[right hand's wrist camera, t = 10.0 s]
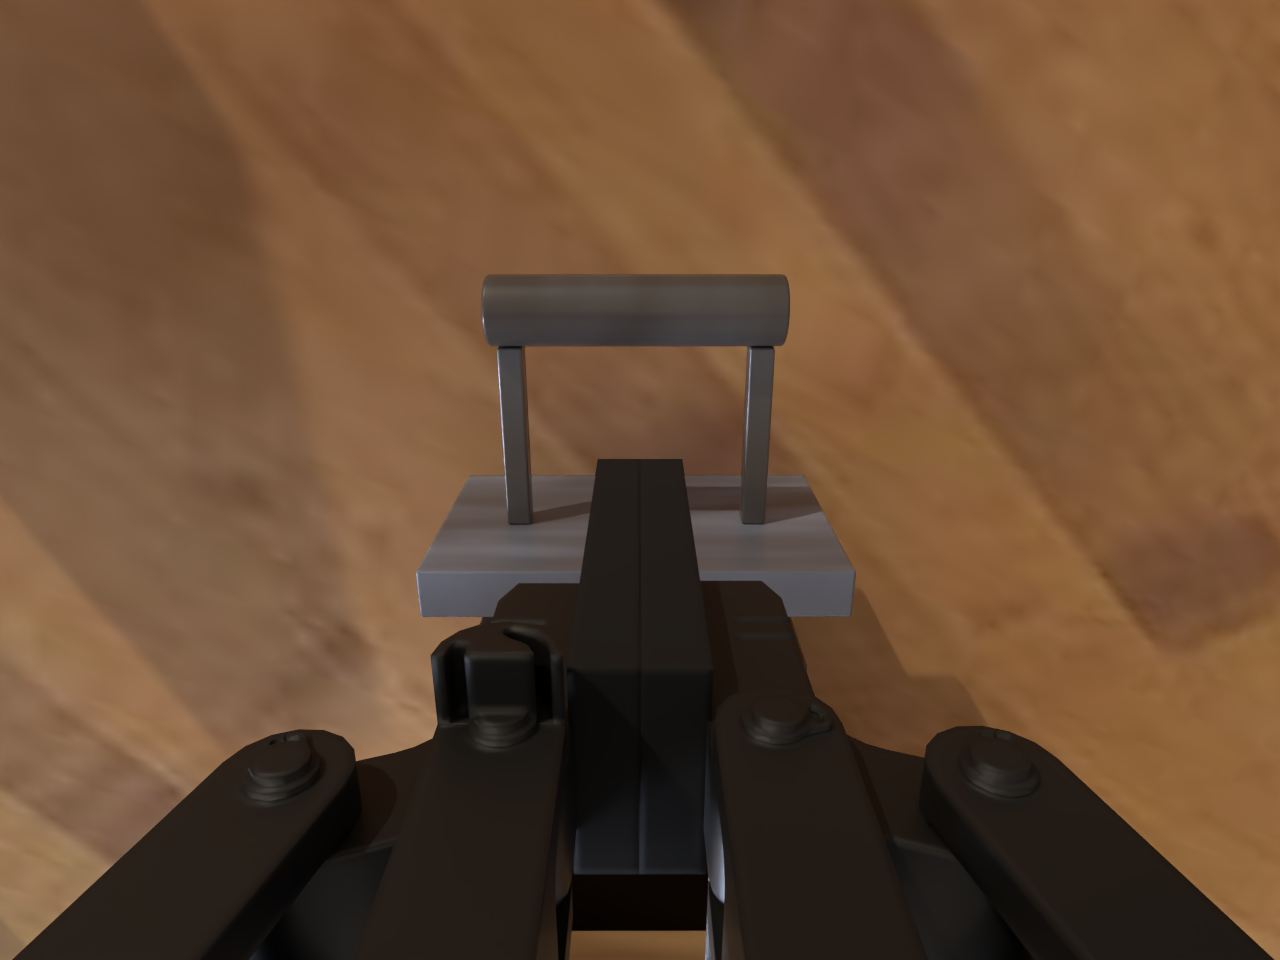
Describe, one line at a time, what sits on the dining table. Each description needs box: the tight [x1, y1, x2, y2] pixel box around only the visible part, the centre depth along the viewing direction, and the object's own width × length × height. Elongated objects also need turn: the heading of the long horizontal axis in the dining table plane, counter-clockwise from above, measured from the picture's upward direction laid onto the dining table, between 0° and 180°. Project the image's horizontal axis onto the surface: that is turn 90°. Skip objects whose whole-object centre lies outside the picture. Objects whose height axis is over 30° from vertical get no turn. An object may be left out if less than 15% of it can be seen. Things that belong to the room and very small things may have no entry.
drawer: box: [416, 274, 856, 931], centre depth 24 cm, size 26×10×6 cm, turn 0°
